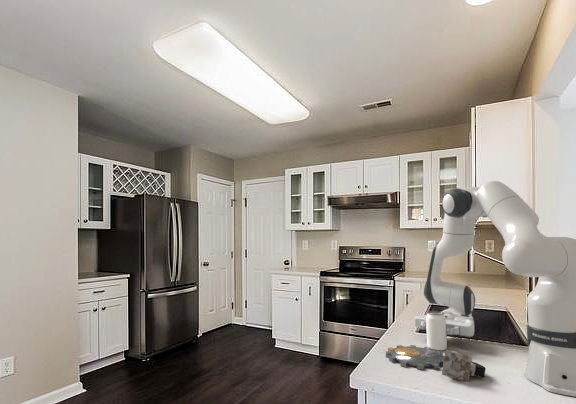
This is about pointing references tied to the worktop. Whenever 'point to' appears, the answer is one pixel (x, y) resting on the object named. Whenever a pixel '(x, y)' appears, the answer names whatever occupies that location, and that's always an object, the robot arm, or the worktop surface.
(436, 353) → the sprocket plate
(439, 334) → the can
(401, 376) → the worktop surface
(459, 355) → the caster wheel
